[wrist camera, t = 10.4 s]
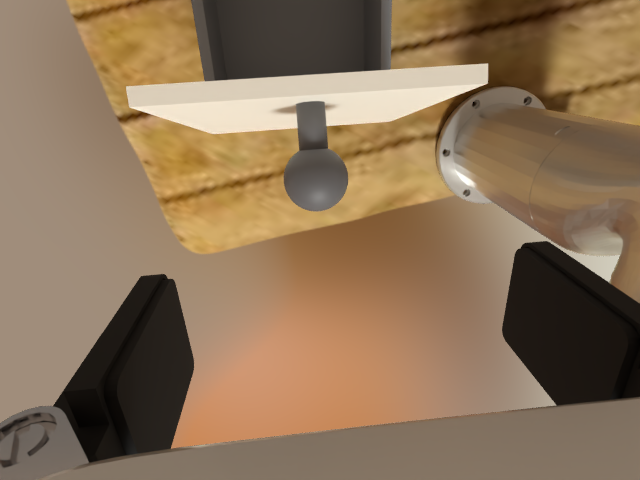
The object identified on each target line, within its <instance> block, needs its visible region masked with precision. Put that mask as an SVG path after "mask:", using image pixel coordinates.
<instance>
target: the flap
mask: <svg viewBox="0 0 640 480" xmlns="http://www.w3.org/2000/svg"><path fill="white" fill-rule="evenodd" d="M485 84H488V63H487V64H471V65H455V66H440V67H424V68H408V69H393V70H377V71H361V72H346V73H330V74H314V75H299V76H283V77H267V78H251V79H236V80H220V81H204V82H189V83H173V84H157V85H142V86H126V90H127V96H128V102H129V107H130V108H133V109H136V110H139V111H143V112H146V113H149V114H152V115H155V116H158V117H161V118H164V119H168V120H171V121H174V122H177V123H180V124H183V125H186V126H189V127H192V128H196V129H199V130H202V131H205V132H208V133H211V134H221V133H235V132H249V131H263V130H277V129H291V128H298V138H299V150H300V151H298V152H297V153H296V154H294V155H293V156H292V158H291V159H290V160H289V162H288V164H287V166H286V168H285V172H284V186H285V189H286V192H287V194H288V196H289V197H290V199H291V200H292V201H293V202H294V203H295V204H296V205H298V206H299V207H301V208H303V209H305V210H309V211H323V210H326V209H329V208H331V207H333V206H334V205H336V204H337V203H338V202H339V201H340V200H341V198H342V197H343V195H344V194H345V191H346V189H347V185H348V173H347V169H346V166H345V164H344V162H343V160H342V159H341V158H340V157H339V156H338V155H337V154H336V153H335V152H333V151H332V150H330V149H328V142H327V127H326V126H334V125H348V124H362V123H376V122H390V121H393V120H395V119H398V118H401V117H403V116H406V115H408V114H411V113H413V112H416V111H419V110H421V109H424V108H426V107H429V106H431V105H434V104H436V103H439V102H442V101H444V100H447V99H449V98H452V97H454V96H457V95H460V94H462V93H465V92H467V91H470V90H472V89H475V88H478V87H480V86H483V85H485Z"/></svg>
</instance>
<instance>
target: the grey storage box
mask: <svg viewBox="0 0 640 480" xmlns="http://www.w3.org/2000/svg"><path fill="white" fill-rule="evenodd" d="M191 2H192V8H193V14H194V20H195V26H196V32H197V38H198V44H199V50H200V56H201V62H202V68H203V74H204V80H205V81H220V80H236V79H251V78H267V77H283V76H299V75H314V74H330V73H346V72H361V71H377V70H390V68H391V11H392V0H191Z"/></svg>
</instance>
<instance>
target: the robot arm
mask: <svg viewBox="0 0 640 480" xmlns="http://www.w3.org/2000/svg"><path fill="white" fill-rule="evenodd" d="M524 99H525V101H524ZM473 102H474V105H473V106H472V103H473ZM444 149H445V152H444V153H442V152H443V150H444ZM436 160H437V167H438V171H439V174H440V176H441V178H442V180H443V182H444V183H445V185H446V186H447V187H448V188H449V189H450V190H451V191H452V192H453V193H455V194H456V195H457V196H459V197H460V198H462V199H464V200H467V201H470V202H473V203H482V204H485V203H495V204H497V205H498V206H499V207H501V208H503V209H504V210H505V211H507V212H508V213H510V214H511V215H513V216H515V217H516V218H517V219H519V220H521V221H522V222H524V223H525V224H527V225H528V226H530V227H531V228H532V229H534V230H535V231H537V232H539V233H540V234H542V235H543V236H545V237H546V238H548V239H549V240H551V241H553V242H554V243H556V244H557V245H559V246H561V247H563V248H565V249H567V250H570V251H573V252H576V253H579V254H585V255H593V256H613V255H620V257H619V259H618V262H617V264H616V267H615V269H614V271H613V273H612V275H611V280H610V282H607V281H606V280H604V279H603V278H601V277H600V276H598V275H597V274H595V273H594V272H592V271H591V270H589V269H588V268H586V267H585V266H584V265H582V264H580V263H579V262H578V261H576V260H575V259H573V258H572V257H570V256H569V255H567V254H566V253H564V252H563V251H561V250H560V249H558V248H557V247H555V246H554V245H552V244H551V243H550V242H547V241H543V242H532V243H525V244H523V245H522V247H521V249H518V250H517V251H516V253H515V257H514V263H513V269H512V275H511V280H510V286H509V292H508V298H507V303H506V310H505V315H504V321H503V327H502V332H503V337H504V339H505V341H506V342H507V343H508V345H509V346H510V347H511V348H512V350H513V351H514V352H515V353H516V355H517V356H518V357H519V358H520V359H521V361H522V362H523V363H524V365H525V366H526V367H527V369H528V370H529V371H530V372H531V373H532V375H533V376H534V377H535V379H536V380H537V381H538V382H539V383H540V385H541V386H542V387H543V389H544V390H545V391H546V392H547V394H548V395H549V396H550V397H551V399H552V400H553V401H554V402H555V404H556V405H557V406H547V407H538V408H528V409H518V410H509V411H500V412H490V413H481V414H471V415H462V416H453V417H444V418H434V419H425V420H416V421H407V422H398V423H389V424H380V425H370V426H361V427H352V428H344V429H335V430H326V431H318V432H309V433H300V434H292V435H284V436H276V437H275V436H274V437H266V438H257V439H249V440H240V441H231V442H223V443H214V444H205V445H196V446H188V447H180V448H173V449H171V445H172V442H173V439H174V435H175V432H176V428H177V425H178V422H179V418H180V415H181V412H182V408H183V405H184V402H185V398H186V395H187V391H188V388H189V384H190V381H191V378H192V374H193V370H194V359H193V354H192V350H191V346H190V342H189V338H188V334H187V329H186V325H185V321H184V317H183V313H182V309H181V305H180V301H179V296H178V292H177V288H176V285H175V282H174V280H173V279H168V278H167V276H166V275H165V274H160V275H149V276H141V277H140V278H139V280H138V281H137V283H136V285H135V286H134V287H133V289H132V290H131V292H130V293H129V295H128V296H127V298H126V299H125V301H124V302H123V304H122V305H121V307H120V308H119V310H118V311H117V313H116V314H115V316H114V317H113V319H112V320H111V321H110V323H109V325H108V326H107V327H106V329H105V330H104V332H103V333H102V334H101V336H100V337H99V339H98V340H97V342H96V343H95V345H94V346H93V348H92V349H91V351H90V352H89V354H88V355H87V357H86V358H85V359H84V361H83V362H82V364H81V366H80V367H79V368H78V370H77V372H76V373H75V375H74V376H73V377H72V379H71V380H70V382H69V383H68V385H67V386H66V388H65V389H64V391H63V392H62V394H61V395H60V397H59V398H58V400H57V401H56V402H55V404H54V405H53V406H39V407H35V408H31V409H27V410H24V411H22V412H20V413H17V414H15V415H13V416H11V417H9V418H7V419H6V420H4V421H2V422H1V423H0V480H640V126H637V125H632V124H626V123H620V122H615V121H609V120H603V119H598V118H592V117H586V116H581V115H575V114H569V113H564V112H558V111H552V110H547V109H546V108H545V106H544V105H543V103H542V102H541V101H540V100H539V99H538V98H537V97H536V96H535V95H533V94H531V93H530V92H528V91H526V90H523V89H520V88H516V87H508V86H501V87H492V88H488V89H485V90H482V91H480V92H478V93H476V94H474V95H472V96H470V97H469V98H467V99H466V100H465V101H463V102H462V103H461V104H460V105H459V106H458V107H457V108H456V109H455V110H454V111H453V112H452V114H451V115H450V116H449V118H448V119H447V121H446V122H445V124H444V126H443V128H442V130H441V133H440V136H439V139H438V143H437V151H436ZM464 190H465V192H464Z"/></svg>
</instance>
